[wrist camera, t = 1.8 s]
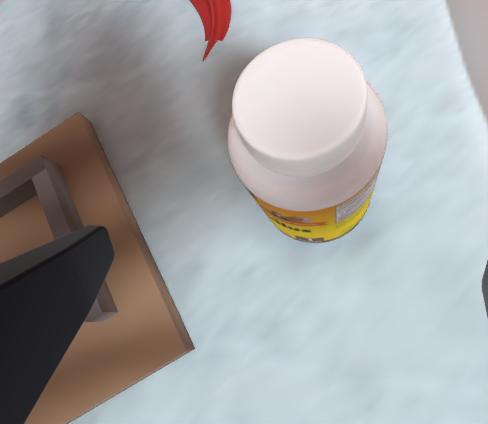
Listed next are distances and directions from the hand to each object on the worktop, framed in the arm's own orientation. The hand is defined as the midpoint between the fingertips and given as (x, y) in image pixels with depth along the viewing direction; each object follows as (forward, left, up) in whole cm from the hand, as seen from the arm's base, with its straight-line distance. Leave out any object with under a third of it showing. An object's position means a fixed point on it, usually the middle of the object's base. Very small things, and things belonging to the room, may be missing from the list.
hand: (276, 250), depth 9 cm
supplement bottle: (+5, -1, -11) cm, 12 cm away
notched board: (+3, +17, -11) cm, 20 cm away
